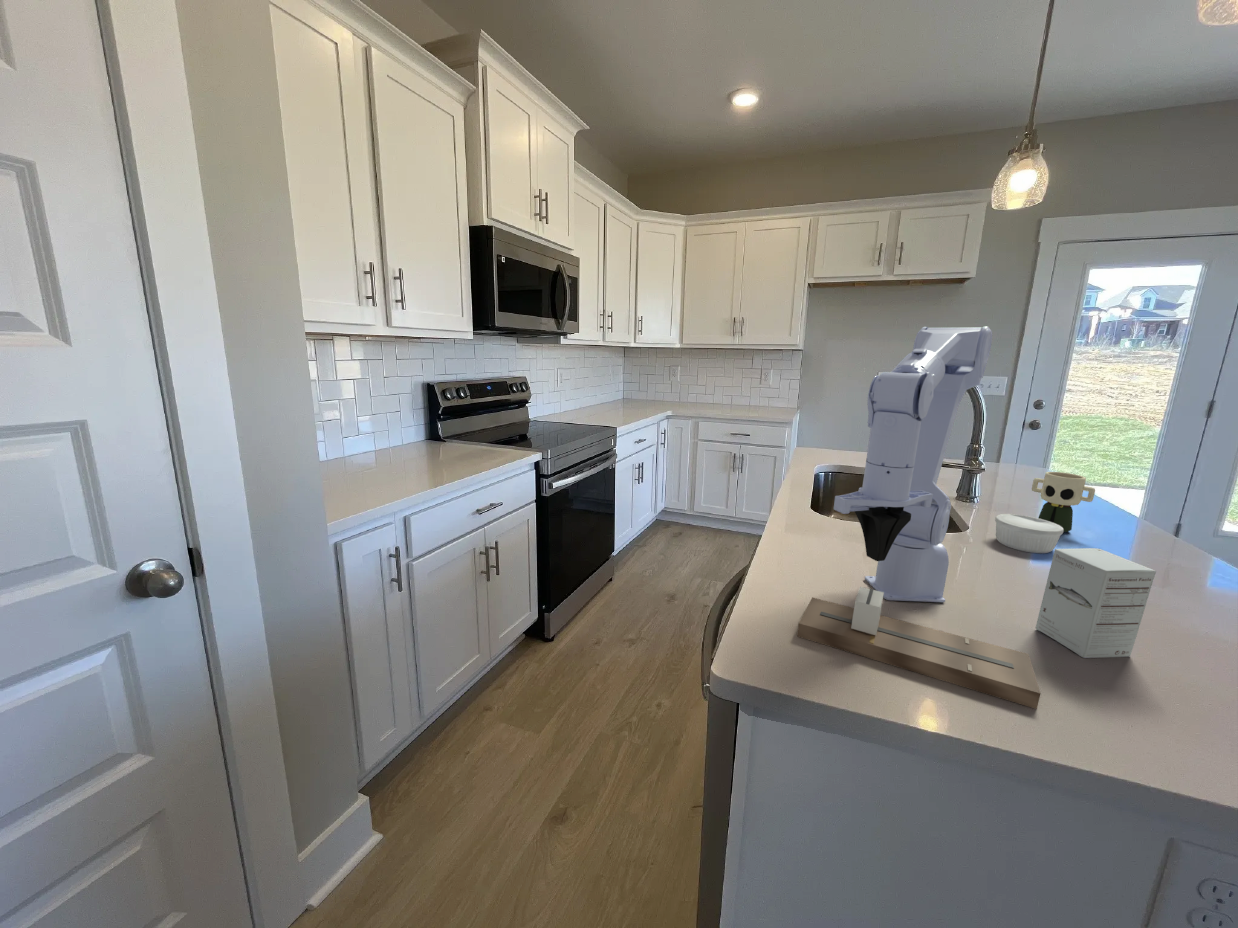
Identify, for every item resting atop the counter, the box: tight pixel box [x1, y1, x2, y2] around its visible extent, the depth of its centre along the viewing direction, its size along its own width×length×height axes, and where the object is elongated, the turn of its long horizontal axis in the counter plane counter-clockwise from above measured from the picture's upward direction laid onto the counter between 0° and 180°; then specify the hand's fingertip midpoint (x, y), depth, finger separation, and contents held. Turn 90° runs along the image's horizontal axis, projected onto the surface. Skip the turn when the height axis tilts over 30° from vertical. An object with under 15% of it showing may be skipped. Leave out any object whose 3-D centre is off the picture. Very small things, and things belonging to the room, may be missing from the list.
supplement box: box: [1035, 547, 1157, 659], centre depth 69 cm, size 7×7×13 cm
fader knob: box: [851, 586, 884, 635], centre depth 68 cm, size 3×5×4 cm, turn 148°
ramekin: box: [994, 513, 1064, 554], centre depth 106 cm, size 11×11×5 cm
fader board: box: [796, 597, 1042, 710], centre depth 67 cm, size 26×9×2 cm, turn 58°
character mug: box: [1031, 471, 1096, 533], centre depth 116 cm, size 11×7×13 cm, turn 37°
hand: (875, 558), depth 71 cm, fingers closed
